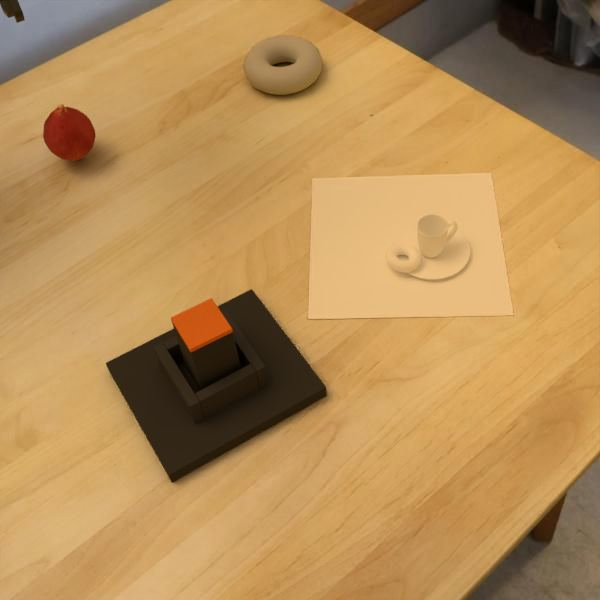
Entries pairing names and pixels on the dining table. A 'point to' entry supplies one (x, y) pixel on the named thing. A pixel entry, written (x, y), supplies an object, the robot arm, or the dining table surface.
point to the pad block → (206, 343)
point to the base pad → (215, 389)
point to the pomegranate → (68, 133)
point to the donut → (283, 77)
